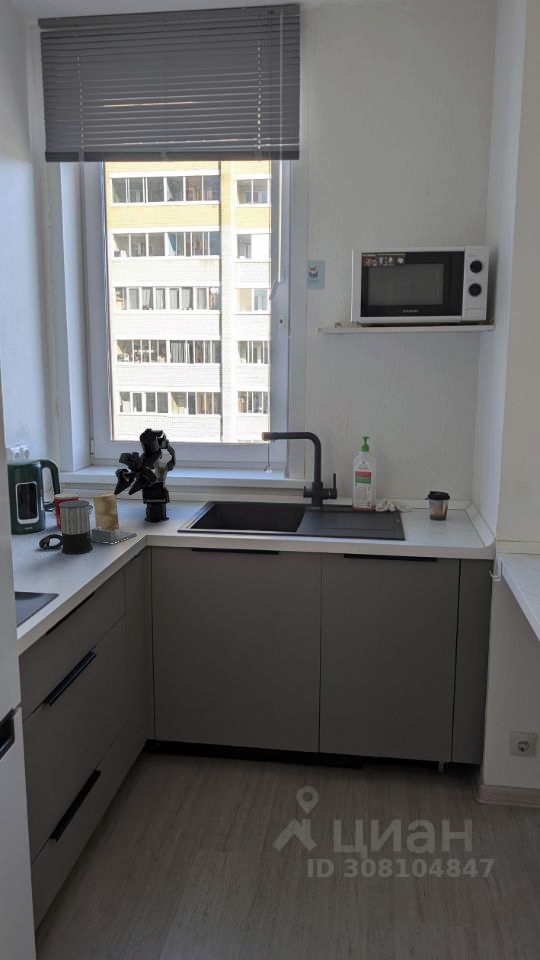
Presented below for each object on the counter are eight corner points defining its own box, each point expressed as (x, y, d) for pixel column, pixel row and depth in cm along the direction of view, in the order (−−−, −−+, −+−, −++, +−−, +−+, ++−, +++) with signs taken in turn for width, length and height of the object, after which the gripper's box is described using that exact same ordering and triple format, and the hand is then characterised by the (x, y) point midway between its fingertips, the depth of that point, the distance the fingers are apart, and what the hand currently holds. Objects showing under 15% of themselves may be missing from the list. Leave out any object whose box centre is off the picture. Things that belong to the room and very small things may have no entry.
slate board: (115, 532, 249) (114, 521, 248) (136, 536, 244) (135, 524, 243) (90, 541, 239) (90, 528, 238) (112, 544, 234) (112, 532, 234)
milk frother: (93, 553, 225) (90, 505, 223) (39, 558, 221) (35, 509, 218) (91, 541, 239) (88, 496, 236) (39, 546, 234) (36, 499, 232)
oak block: (112, 529, 254) (109, 494, 253) (119, 530, 250) (115, 494, 249) (96, 532, 250) (93, 496, 249) (103, 533, 246) (100, 497, 245)
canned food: (74, 529, 255) (71, 497, 252) (52, 528, 256) (50, 497, 254) (83, 523, 262) (81, 493, 260) (62, 523, 263) (60, 492, 261)
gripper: (118, 445, 260) (91, 479, 253) (147, 442, 246) (120, 478, 239) (139, 467, 265) (113, 500, 258) (168, 465, 252) (142, 500, 244)
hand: (121, 494), depth 250 cm, fingers open, 9 cm apart
